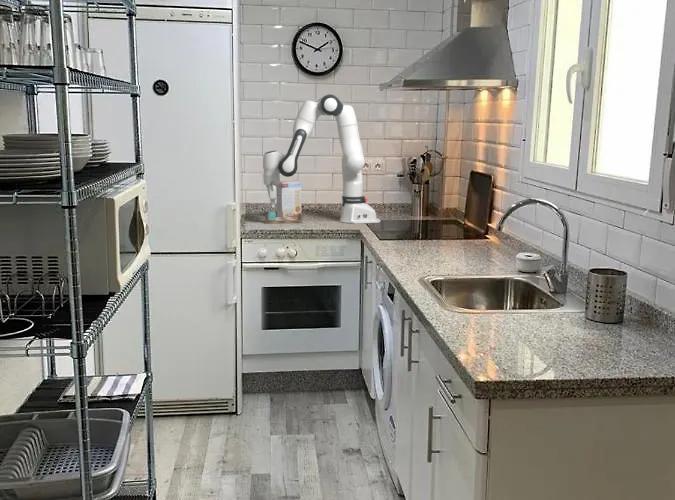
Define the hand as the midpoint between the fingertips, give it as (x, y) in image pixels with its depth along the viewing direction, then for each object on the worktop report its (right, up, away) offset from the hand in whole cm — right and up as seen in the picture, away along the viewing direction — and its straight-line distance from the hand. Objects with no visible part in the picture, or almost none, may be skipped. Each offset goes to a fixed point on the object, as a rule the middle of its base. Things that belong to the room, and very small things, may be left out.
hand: (272, 206), depth 384 cm
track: (+5, -9, +2) cm, 10 cm away
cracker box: (+7, -5, +21) cm, 23 cm away
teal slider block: (-1, -7, +1) cm, 8 cm away
